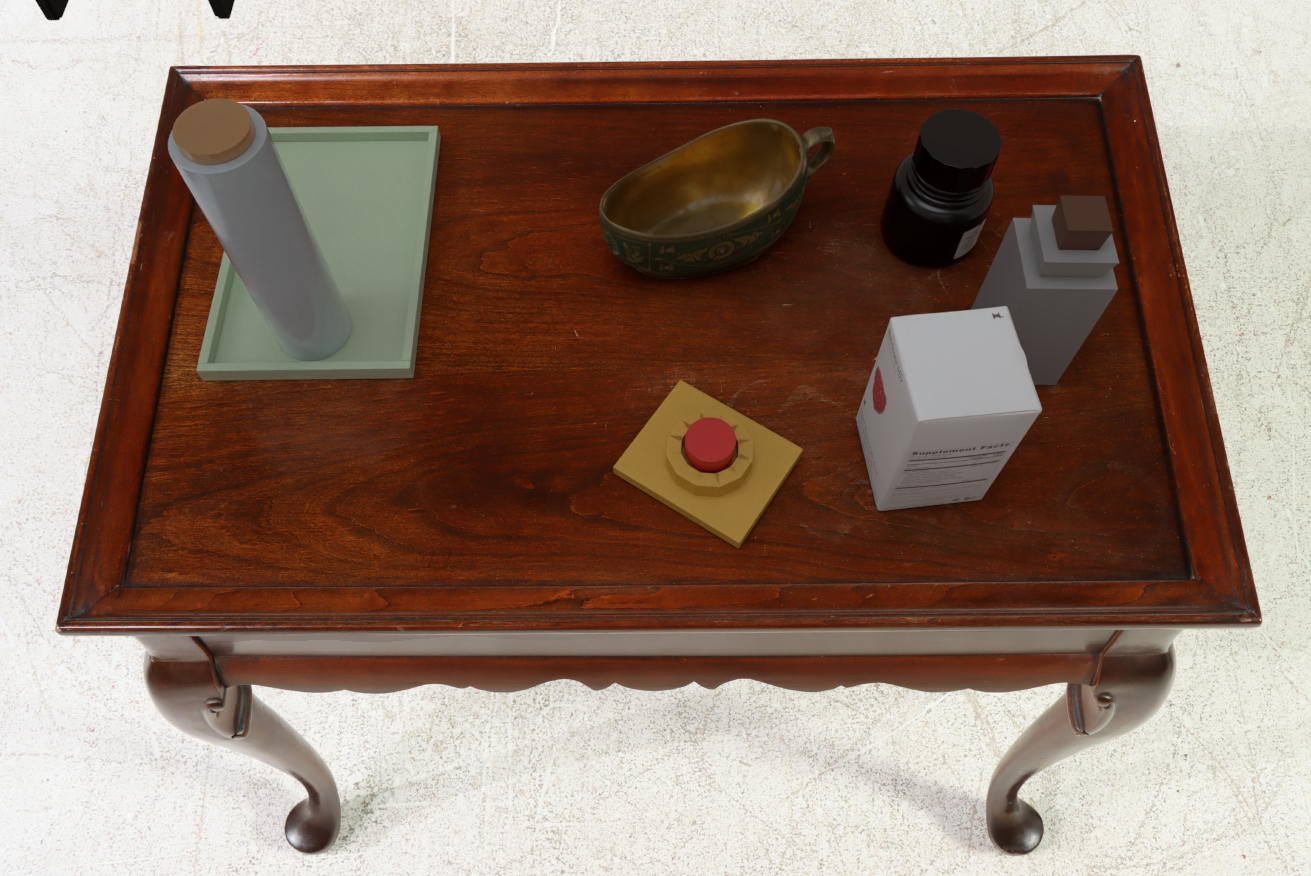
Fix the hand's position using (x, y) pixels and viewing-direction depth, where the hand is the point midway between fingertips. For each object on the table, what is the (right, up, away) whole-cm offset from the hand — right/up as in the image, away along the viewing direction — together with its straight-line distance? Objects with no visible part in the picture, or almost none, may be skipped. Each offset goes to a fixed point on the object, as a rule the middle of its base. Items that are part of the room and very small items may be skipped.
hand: (145, 4), depth 60 cm
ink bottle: (+55, -6, +36) cm, 66 cm away
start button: (+34, -26, +22) cm, 48 cm away
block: (+34, -28, +24) cm, 50 cm away
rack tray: (0, -8, +35) cm, 36 cm away
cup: (+35, -7, +36) cm, 51 cm away
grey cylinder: (0, -16, +30) cm, 34 cm away
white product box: (+51, -27, +25) cm, 63 cm away
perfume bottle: (+61, -18, +30) cm, 70 cm away
